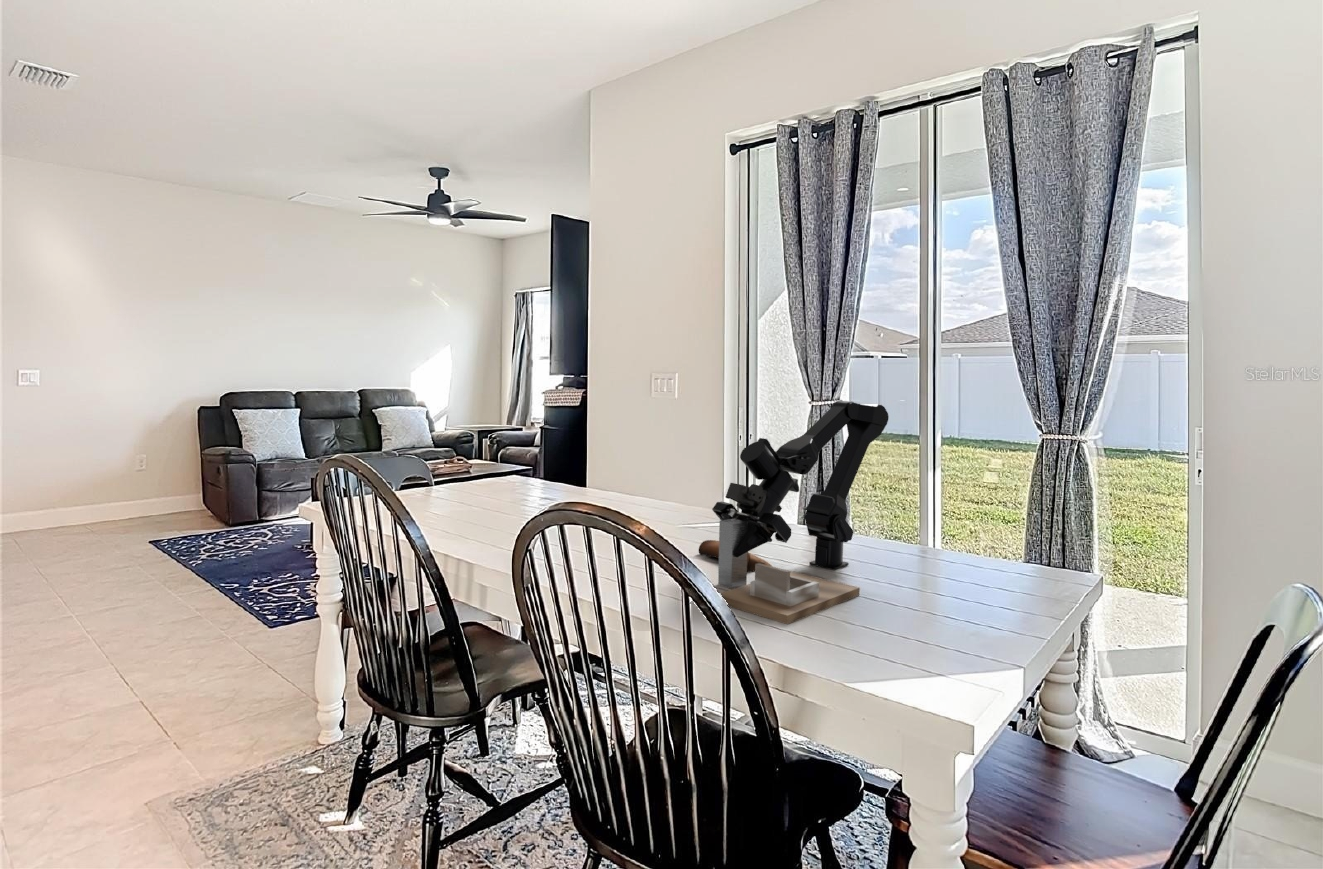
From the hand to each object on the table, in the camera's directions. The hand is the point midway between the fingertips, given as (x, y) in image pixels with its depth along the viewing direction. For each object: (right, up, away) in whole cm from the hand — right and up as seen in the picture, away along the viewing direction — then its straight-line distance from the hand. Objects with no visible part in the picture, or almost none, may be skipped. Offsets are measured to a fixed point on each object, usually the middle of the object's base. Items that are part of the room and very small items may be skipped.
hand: (727, 553), depth 143 cm
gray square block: (+1, -7, +1) cm, 7 cm away
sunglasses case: (+4, -6, +20) cm, 21 cm away
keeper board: (+11, -7, -7) cm, 15 cm away
